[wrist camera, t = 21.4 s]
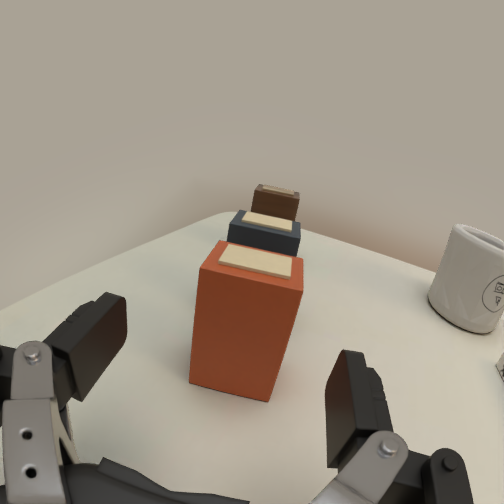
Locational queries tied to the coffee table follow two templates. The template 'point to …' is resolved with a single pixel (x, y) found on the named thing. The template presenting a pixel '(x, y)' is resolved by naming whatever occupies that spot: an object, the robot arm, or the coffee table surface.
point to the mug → (470, 280)
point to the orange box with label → (244, 318)
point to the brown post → (275, 202)
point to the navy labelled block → (265, 233)
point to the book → (501, 366)
